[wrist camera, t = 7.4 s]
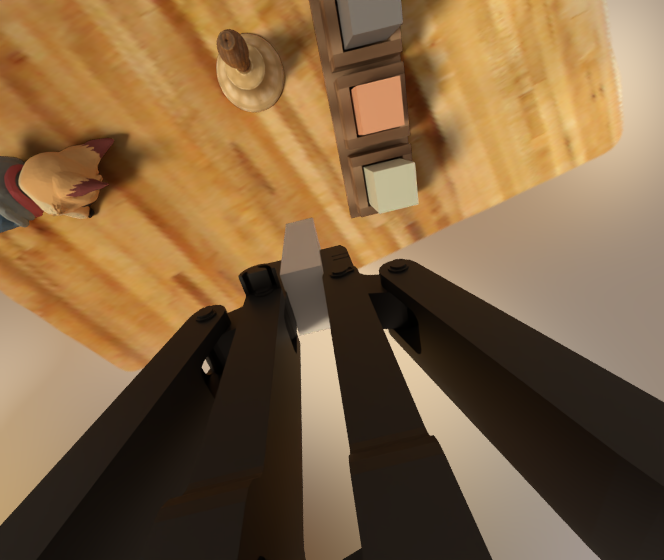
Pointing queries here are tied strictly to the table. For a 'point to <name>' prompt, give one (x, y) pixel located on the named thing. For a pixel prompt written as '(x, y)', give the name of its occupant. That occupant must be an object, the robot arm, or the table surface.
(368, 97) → the terracotta button
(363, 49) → the wooden base
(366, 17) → the grey square block
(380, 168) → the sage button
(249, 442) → the robot arm
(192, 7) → the table surface
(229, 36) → the hand bell
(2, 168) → the figurine
